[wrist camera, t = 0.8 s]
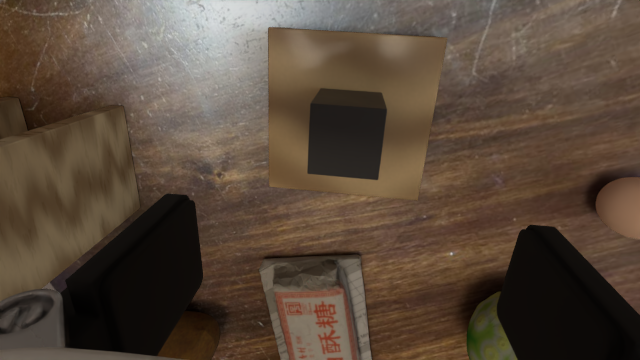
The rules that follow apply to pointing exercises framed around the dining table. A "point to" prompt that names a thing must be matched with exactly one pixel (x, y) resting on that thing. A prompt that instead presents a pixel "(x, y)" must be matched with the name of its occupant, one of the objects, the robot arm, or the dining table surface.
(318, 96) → the block
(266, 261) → the packaged product
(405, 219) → the dining table surface
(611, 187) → the egg
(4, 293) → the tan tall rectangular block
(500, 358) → the decorative ball
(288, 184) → the tan flat square block
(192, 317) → the potato
